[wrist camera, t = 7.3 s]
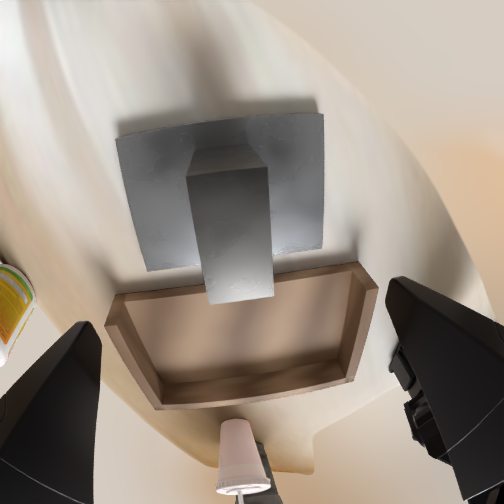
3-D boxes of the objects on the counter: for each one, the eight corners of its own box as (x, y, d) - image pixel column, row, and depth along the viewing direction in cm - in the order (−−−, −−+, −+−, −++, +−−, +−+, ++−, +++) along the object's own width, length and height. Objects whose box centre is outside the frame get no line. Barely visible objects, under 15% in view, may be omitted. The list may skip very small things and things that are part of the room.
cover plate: (316, 112, 16) (376, 125, 10) (316, 240, 21) (357, 303, 14) (121, 136, 15) (69, 162, 9) (150, 262, 20) (130, 335, 14)
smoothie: (200, 422, 31) (207, 522, 19) (245, 409, 30) (262, 516, 18) (226, 437, 34) (237, 524, 22) (267, 425, 34) (286, 516, 22)
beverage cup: (266, 435, 36) (290, 555, 18) (276, 449, 39) (299, 551, 22) (219, 445, 36) (233, 561, 19) (235, 457, 40) (250, 557, 22)
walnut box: (358, 261, 22) (378, 287, 19) (341, 355, 27) (353, 381, 24) (115, 294, 20) (104, 326, 17) (157, 381, 26) (155, 410, 23)
